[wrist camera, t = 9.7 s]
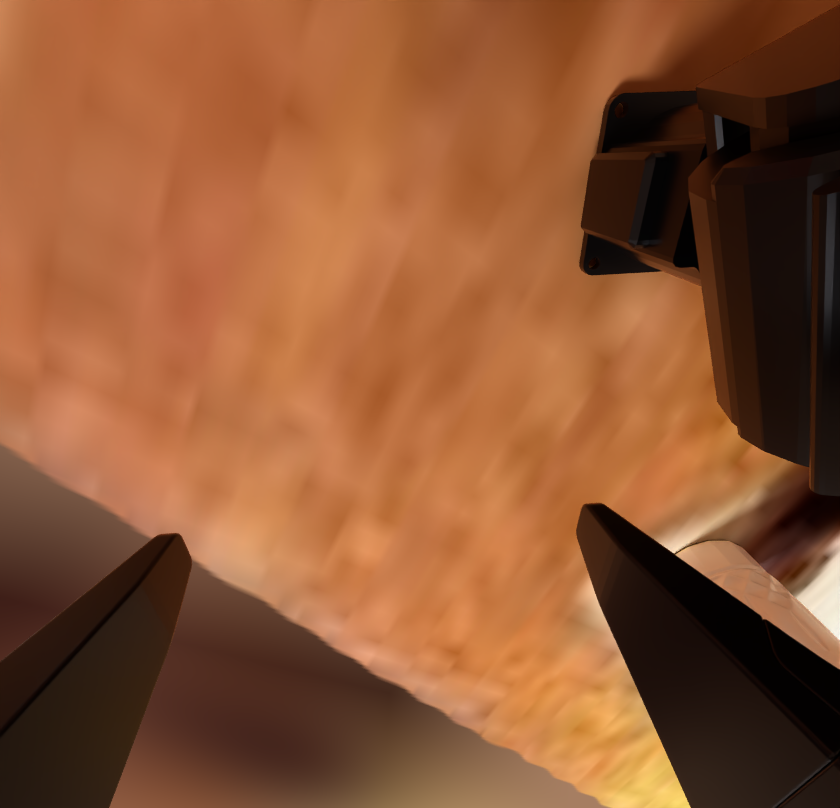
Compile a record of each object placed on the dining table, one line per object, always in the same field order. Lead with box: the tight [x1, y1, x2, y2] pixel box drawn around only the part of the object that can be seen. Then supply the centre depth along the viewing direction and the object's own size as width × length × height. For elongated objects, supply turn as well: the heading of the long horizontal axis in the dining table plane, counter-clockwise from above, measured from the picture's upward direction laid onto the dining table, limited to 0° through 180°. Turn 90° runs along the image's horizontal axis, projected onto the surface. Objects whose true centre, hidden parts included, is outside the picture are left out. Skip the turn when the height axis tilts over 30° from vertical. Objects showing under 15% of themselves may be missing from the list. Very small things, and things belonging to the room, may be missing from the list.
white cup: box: [675, 541, 840, 669], centre depth 27 cm, size 8×8×10 cm
